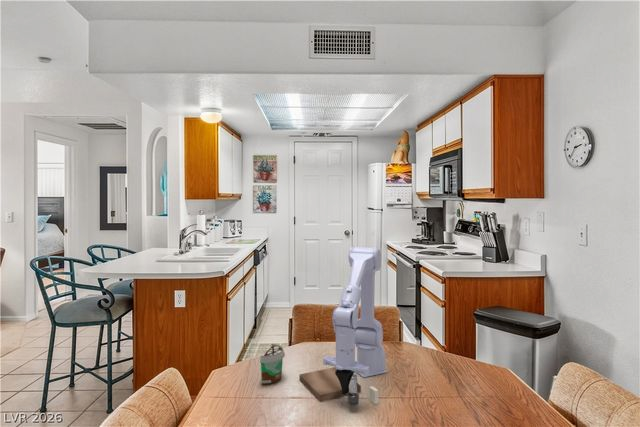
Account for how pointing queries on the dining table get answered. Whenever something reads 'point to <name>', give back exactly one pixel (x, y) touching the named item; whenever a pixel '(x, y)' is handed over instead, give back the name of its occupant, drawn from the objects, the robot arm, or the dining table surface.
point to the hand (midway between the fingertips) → (345, 393)
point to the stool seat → (324, 384)
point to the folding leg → (353, 391)
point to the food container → (272, 365)
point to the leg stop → (373, 395)
